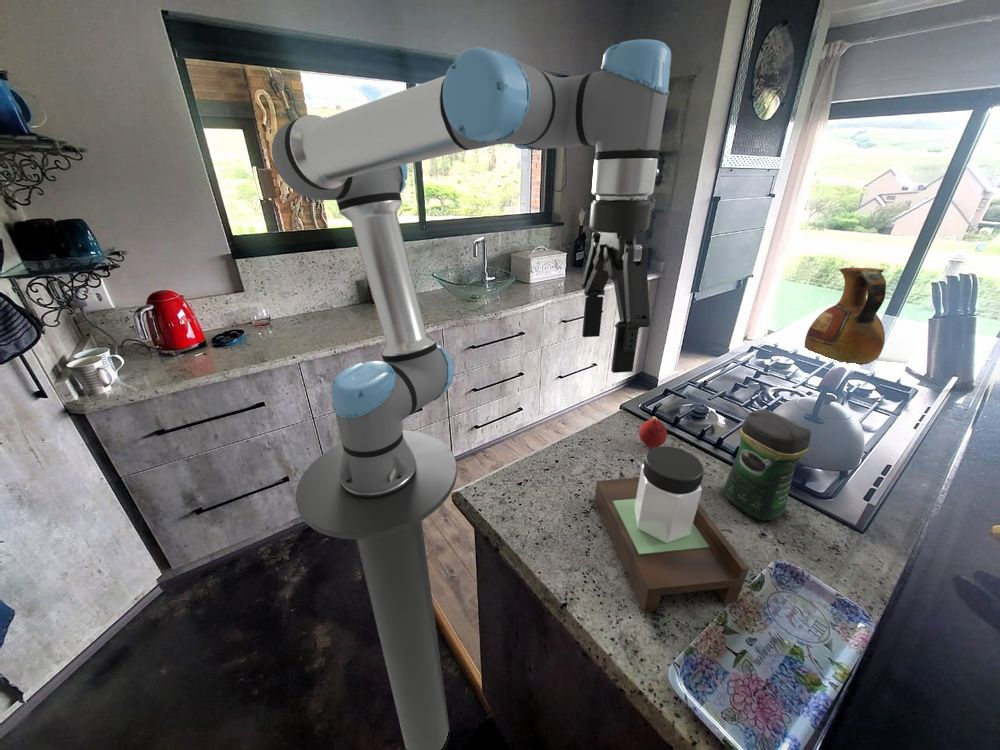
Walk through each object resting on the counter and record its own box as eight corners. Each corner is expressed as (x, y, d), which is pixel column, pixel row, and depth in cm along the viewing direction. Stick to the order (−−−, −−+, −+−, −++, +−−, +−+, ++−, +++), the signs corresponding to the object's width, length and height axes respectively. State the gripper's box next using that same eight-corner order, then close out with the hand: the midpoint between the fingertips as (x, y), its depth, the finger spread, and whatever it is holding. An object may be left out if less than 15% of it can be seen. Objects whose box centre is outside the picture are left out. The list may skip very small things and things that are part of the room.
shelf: (594, 501, 76) (597, 472, 73) (664, 495, 78) (671, 466, 75) (643, 612, 57) (651, 579, 54) (736, 602, 58) (749, 568, 55)
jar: (694, 547, 60) (712, 485, 55) (638, 540, 62) (650, 479, 56) (681, 504, 68) (695, 446, 63) (631, 499, 70) (641, 441, 64)
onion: (664, 443, 93) (670, 413, 89) (662, 457, 88) (669, 426, 85) (638, 437, 95) (643, 408, 91) (635, 451, 90) (640, 420, 87)
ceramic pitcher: (847, 348, 142) (882, 261, 128) (891, 373, 124) (937, 275, 110) (788, 347, 143) (816, 261, 130) (823, 371, 125) (860, 274, 112)
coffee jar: (790, 514, 73) (825, 428, 65) (761, 528, 70) (793, 440, 62) (742, 481, 81) (768, 401, 73) (714, 492, 78) (737, 410, 70)
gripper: (704, 202, 40) (668, 389, 50) (614, 194, 63) (601, 323, 72) (632, 204, 40) (609, 392, 49) (567, 194, 62) (560, 325, 71)
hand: (604, 352), depth 61 cm, fingers open, 13 cm apart
